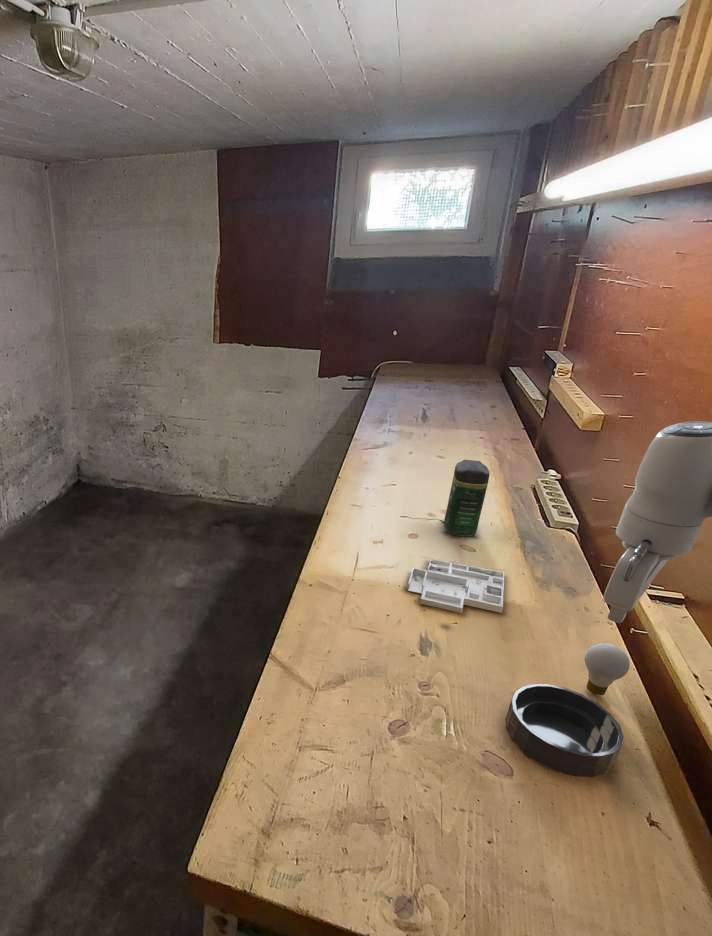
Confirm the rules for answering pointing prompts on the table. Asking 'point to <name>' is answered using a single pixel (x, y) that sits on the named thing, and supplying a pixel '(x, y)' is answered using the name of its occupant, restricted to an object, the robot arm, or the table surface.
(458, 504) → the coffee jar
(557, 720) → the bowl
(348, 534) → the table surface
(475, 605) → the floor plan model
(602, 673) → the light bulb
